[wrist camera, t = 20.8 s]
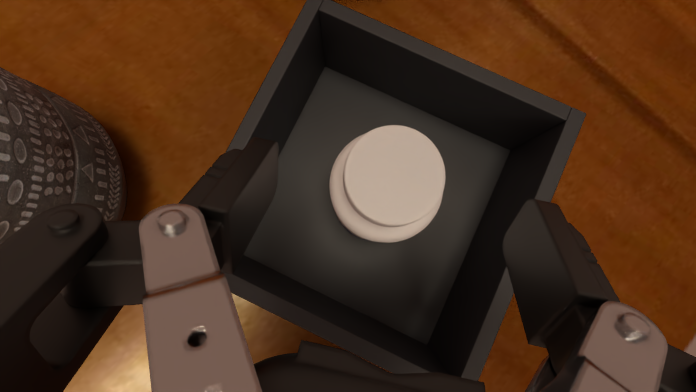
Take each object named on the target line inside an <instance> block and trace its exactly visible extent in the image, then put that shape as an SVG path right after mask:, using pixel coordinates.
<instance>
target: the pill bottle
mask: <svg viewBox="0 0 696 392" xmlns="http://www.w3.org/2000/svg"><path fill="white" fill-rule="evenodd" d="M444 186H445V166H444V163H443V159H442V157H441V155H440V153H439V151H438V149H437V148H436V146H435V145H434V144H433V143H432V141H431V140H430V139H429V138H427V137H426V136H425V135H423V134H422V133H420V132H419V131H417V130H415V129H412V128H410V127H406V126H400V125H388V126H382V127H378V128H376V129H373V130H371V131H369V132H367V133H365V134H363V135H361V136H359V137H357V138H355V139H354V140H352V141H351V142H350V143H349V144H347V145H346V146H345V147H344V149H343V150H342V151H341V152H340V154H339V155H338V157H337V158H336V160H335V162H334V165H333V167H332V170H331V175H330V181H329V189H330V197H331V202H332V205H333V208H334V210H335V213H336V216H337V218H338V220H339V221H340V223H341V224H342V226H343V227H344V228H345V229H346V230H347V231H348V232H350V233H351V234H352V235H354V236H356V237H358V238H360V239H363V240H367V241H372V242H379V243H391V242H398V241H402V240H406V239H408V238H411V237H413V236H415V235H416V234H418V233H419V232H421V231H422V230H423V229H424V228H425V227H427V226H428V224H429V223H430V222H431V221H432V220H433V218H434V216H435V215H436V213H437V211H438V209H439V207H440V204H441V201H442V196H443V190H444Z"/></svg>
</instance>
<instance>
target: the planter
mask: <svg viewBox="0 0 696 392" xmlns="http://www.w3.org/2000/svg"><path fill="white" fill-rule="evenodd" d="M126 202H127V185H126V178H125V173H124V169H123V165H122V162H121V159H120V157H119V154H118V152H117V150H116V148H115V146H114V144H113V142H112V140H111V138H110V136H109V135H108V133H107V132H106V131H105V129H104V128H103V127H102V125H101V124H100V123H99V122H98V121H97V120H96V119H95V118H94V117H93V116H92V115H90V114H89V113H88V112H86V111H85V110H84V109H82V108H81V107H79V106H77V105H75V104H74V103H72V102H70V101H68V100H66V99H64V98H63V97H61V96H59V95H57V94H55V93H53V92H51V91H49V90H46V89H44V88H42V87H40V86H38V85H36V84H34V83H31V82H29V81H27V80H25V79H22V78H20V77H18V76H16V75H14V74H12V73H10V72H8V71H7V70H5V69H3V68H1V67H0V244H2V243H3V242H4V241H5V240H7V239H8V238H9V237H10V236H12V235H13V234H14V233H15V232H17V231H18V230H19V229H20V228H21V227H23V226H24V225H25V224H26V223H28V222H29V221H30V220H31V219H33V218H34V217H35V216H37V215H38V214H40V213H42V212H43V211H46V210H48V209H50V208H53V207H56V206H60V205H64V204H72V203H83V204H89V205H92V206H94V207H96V208H98V209H99V210H100V212H101V214H102V216H103V219H104V221H121V220H122V217H123V215H124V211H125V208H126Z"/></svg>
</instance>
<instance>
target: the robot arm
mask: <svg viewBox="0 0 696 392" xmlns="http://www.w3.org/2000/svg"><path fill="white" fill-rule="evenodd" d="M278 154H279V146H278V142H276V141H271V140H267V139H262V138H258V137H253V138H252V139H251V140H250V141H249V143H248V144H247V145H246V146H245V148H244V149H243V150H240V149H235V148H234V149H232V150H230V151H228V152H226V153H224V154H222V155H221V156H220V157H219V158H218V159H217V160H216V161H215V163H214V164H213V165H212V167H210V168H209V169H208V170H207V172H206V173H205V175H203V176H202V177H201V178H200V180H199V181H198V182H197V183H196V184H195V185H194V186H193V187H192V189H191V190H190V191H189V192H188V193H187V194H186V195H185V197H184V198H183V199H182V200H181V201H180V202H179V203H178V204H169V205H164V206H161V207H158V208H156V209H154V210H152V211H151V212H149V213H148V214H146V215H145V216H144V218H143V219H142V220H136V221H104V219H103V216H102V214H101V212H100V210H99V209H98V208H96V207H94V206H92V205H89V204H83V203H72V204H64V205H60V206H56V207H53V208H50V209H48V210H46V211H43V212H42V213H40V214H38V215H37V216H35V217H34V218H33V219H31V220H30V221H29V222H28V223H26V224H25V225H24V226H23V227H21V228H20V229H19V230H18V231H17V232H15V233H14V234H13V235H12V236H10V237H9V238H8V239H7V240H5V241H4V242H3V243H2V244H0V392H63V391H64V389H65V388H66V386H67V385H68V384H69V382H70V381H71V379H72V378H73V376H74V375H75V374H76V372H77V371H78V369H79V368H80V367H81V365H82V364H83V362H84V361H85V360H86V358H87V357H88V355H89V354H90V352H91V351H92V350H93V348H94V347H95V345H96V344H97V343H98V341H99V340H100V338H101V337H102V335H103V334H104V333H105V331H106V330H107V328H108V327H109V326H110V324H111V323H112V321H113V320H114V318H115V317H116V316H117V314H118V313H119V311H120V310H121V309H122V307H123V306H124V305H136V304H143V312H144V321H145V331H146V341H147V350H148V360H149V369H150V379H151V389H152V392H485V386H484V383H483V382H479V381H475V380H470V379H466V378H462V377H457V376H453V375H449V374H445V373H440V372H429V373H404V374H393V373H389V372H387V371H385V370H383V369H381V368H379V367H377V366H375V365H373V364H371V363H369V362H367V361H365V360H363V359H361V358H360V357H358V356H356V355H354V354H352V353H350V352H348V351H346V350H342V349H338V348H334V347H329V346H325V345H321V344H317V343H312V342H308V341H304V340H301V343H300V346H299V350H298V353H290V354H283V355H277V356H274V357H270V358H267V359H264V360H262V361H260V362H257V363H255V364H253V361H252V358H251V355H250V352H249V348H248V345H247V342H246V339H245V336H244V333H243V329H242V326H241V323H240V320H239V317H238V314H237V310H236V307H235V304H234V301H233V298H232V295H231V291H230V288H229V285H228V282H227V279H226V276H225V274H224V273H228V274H233V273H234V271H235V269H236V267H237V265H238V263H239V262H240V260H241V258H242V256H243V254H244V252H245V250H246V249H247V247H248V245H249V243H250V241H251V239H252V237H253V236H254V234H255V232H256V230H257V228H258V226H259V224H260V223H261V221H262V219H263V217H264V215H265V213H266V211H267V209H268V208H269V206H270V204H271V202H272V200H273V198H274V195H275V192H276V188H277V181H278ZM502 249H503V254H504V258H505V261H506V265H507V269H508V272H509V276H510V279H511V283H512V286H513V290H514V294H515V297H516V301H517V304H518V308H519V312H520V315H521V319H522V322H523V326H524V330H525V333H526V337H527V340H528V344H531V345H535V346H540V347H544V348H547V350H548V353H549V355H548V356H547V357H546V358H545V359H544V360H543V361H542V362H541V364H540V366H539V368H538V369H537V371H536V373H535V375H534V376H533V378H532V380H531V382H530V383H529V385H528V387H527V389H526V390H525V392H696V357H694V356H692V355H690V354H688V353H686V352H684V351H681V350H679V349H677V348H675V347H673V346H671V345H669V344H667V342H666V339H665V337H664V335H663V334H662V332H661V331H660V330H659V328H658V327H657V326H656V325H655V324H654V323H653V322H652V321H651V320H650V319H649V318H648V317H646V316H645V315H644V314H642V313H641V312H639V311H638V310H636V309H634V308H633V307H631V306H629V305H626V304H623V303H620V301H619V299H618V297H617V295H616V294H615V292H614V290H613V288H612V287H611V285H610V283H609V281H608V279H607V278H606V276H605V274H604V272H603V270H602V269H601V267H600V265H599V264H597V260H596V258H595V256H594V254H593V253H591V249H590V247H589V245H588V244H587V242H586V240H585V238H584V237H583V236H582V235H581V234H580V233H579V232H578V231H577V230H576V229H575V228H574V227H573V226H572V225H571V224H570V223H568V222H567V220H566V219H565V217H564V215H563V213H562V211H561V209H560V207H559V206H558V205H557V204H555V203H550V202H546V201H541V200H537V199H528V200H527V201H526V202H525V203H524V205H523V206H522V208H521V210H520V211H519V213H518V214H517V216H516V218H515V219H514V221H513V222H512V224H511V226H510V227H509V229H508V230H507V232H506V234H505V236H504V239H503V246H502ZM221 272H222V273H221ZM223 272H224V273H223Z"/></svg>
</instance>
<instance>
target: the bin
mask: <svg viewBox="0 0 696 392" xmlns="http://www.w3.org/2000/svg"><path fill="white" fill-rule="evenodd" d="M585 116H586V113H584V112H582V111H579V110H577V109H575V108H571V107H570V106H568V105H566V104H563V103H561V102H559V101H557V100H554V99H552V98H550V97H548V96H545V95H543V94H541V93H539V92H536V91H534V90H532V89H530V88H527V87H525V86H523V85H521V84H518V83H516V82H514V81H512V80H509V79H507V78H505V77H503V76H500V75H498V74H496V73H494V72H491V71H489V70H487V69H485V68H482V67H480V66H478V65H476V64H473V63H471V62H469V61H467V60H464V59H462V58H460V57H458V56H455V55H453V54H451V53H449V52H446V51H444V50H442V49H440V48H437V47H435V46H433V45H431V44H428V43H426V42H424V41H422V40H419V39H417V38H415V37H413V36H410V35H408V34H406V33H404V32H401V31H399V30H397V29H395V28H392V27H390V26H388V25H386V24H383V23H381V22H379V21H377V20H374V19H372V18H370V17H368V16H365V15H363V14H361V13H359V12H356V11H354V10H352V9H350V8H347V7H345V6H343V5H341V4H338V3H336V2H334V1H332V0H307V1H306V3H305V5H304V7H303V9H302V10H301V12H300V14H299V16H298V18H297V20H296V22H295V23H294V25H293V27H292V29H291V31H290V33H289V35H288V37H287V38H286V40H285V42H284V44H283V46H282V48H281V50H280V52H279V53H278V55H277V57H276V59H275V61H274V63H273V65H272V67H271V68H270V70H269V72H268V74H267V76H266V78H265V80H264V82H263V83H262V85H261V87H260V89H259V91H258V93H257V95H256V97H255V98H254V100H253V102H252V104H251V106H250V108H249V110H248V111H247V113H246V115H245V117H244V119H243V121H242V123H241V125H240V126H239V128H238V130H237V132H236V134H235V136H234V138H233V140H232V141H231V143H230V145H229V147H228V149H227V151H226V152H228V151H230V150H232V149H234V148H235V149H240V150H243V149H244V148H245V146H246V145H247V144H248V143H249V141H250V140H251V139H252V138H253V137H258V138H262V139H267V140H271V141H276V142H278V146H279V154H278V181H277V188H276V192H275V195H274V198H273V200H272V202H271V204H270V206H269V208H268V209H267V211H266V213H265V215H264V217H263V219H262V221H261V223H260V224H259V226H258V228H257V230H256V232H255V234H254V236H253V237H252V239H251V241H250V243H249V245H248V247H247V249H246V250H245V252H244V254H243V256H242V258H241V260H240V262H239V263H238V265H237V267H236V269H235V271H234V273H233V274H228V273H224V272H223V273H224V274H225V276H226V279H227V282H228V285H229V288H230V291H231V293H233V294H235V295H237V296H239V297H241V298H243V299H245V300H247V301H249V302H251V303H253V304H255V305H257V306H259V307H261V308H263V309H265V310H267V311H269V312H271V313H273V314H275V315H277V316H279V317H281V318H284V319H286V320H288V321H290V322H292V323H294V324H296V325H298V326H300V327H302V328H304V329H306V330H308V331H310V332H312V333H314V334H316V335H318V336H320V337H322V338H324V339H326V340H328V341H330V342H332V343H334V344H336V345H338V346H340V347H342V348H344V349H346V350H348V351H350V352H352V353H354V354H356V355H358V356H360V357H362V358H364V359H366V360H368V361H370V362H372V363H374V364H376V365H378V366H380V367H382V368H384V369H386V370H388V371H390V372H392V373H394V374H404V373H429V372H440V373H445V374H449V375H453V376H457V377H462V378H466V379H470V380H475V381H478V379H479V377H480V374H481V372H482V370H483V367H484V365H485V362H486V360H487V357H488V355H489V352H490V350H491V347H492V345H493V342H494V340H495V338H496V335H497V333H498V330H499V328H500V325H501V323H502V320H503V318H504V315H505V313H506V310H507V308H508V306H509V303H510V301H511V298H512V296H513V293H514V290H513V286H512V283H511V279H510V276H509V272H508V269H507V265H506V261H505V258H504V254H503V249H502V246H503V239H504V236H505V234H506V232H507V230H508V229H509V227H510V226H511V224H512V222H513V221H514V219H515V218H516V216H517V214H518V213H519V211H520V210H521V208H522V206H523V205H524V203H525V202H526V201H527V200H528V199H537V200H541V201H546V202H551V200H552V197H553V195H554V192H555V190H556V187H557V185H558V182H559V180H560V178H561V175H562V173H563V170H564V168H565V165H566V163H567V160H568V158H569V155H570V153H571V150H572V148H573V146H574V143H575V141H576V138H577V136H578V133H579V131H580V128H581V126H582V123H583V121H584V118H585ZM388 125H400V126H406V127H410V128H412V129H415V130H417V131H419V132H420V133H422V134H423V135H425V136H426V137H427V138H429V139H430V140H431V141H432V143H433V144H434V145H435V146H436V148H437V149H438V151H439V153H440V155H441V157H442V159H443V163H444V166H445V186H444V190H443V196H442V201H441V204H440V207H439V209H438V211H437V213H436V215H435V216H434V218H433V220H432V221H431V222H430V223H429V224H428V226H427V227H425V228H424V229H423V230H422V231H421V232H419V233H418V234H416V235H415V236H413V237H411V238H408V239H406V240H402V241H398V242H391V243H379V242H372V241H367V240H363V239H360V238H358V237H356V236H354V235H352V234H351V233H350V232H348V231H347V230H346V229H345V228H344V227H343V226H342V224H341V223H340V221H339V220H338V218H337V216H336V213H335V210H334V208H333V205H332V202H331V197H330V189H329V181H330V175H331V170H332V167H333V165H334V162H335V160H336V158H337V157H338V155H339V154H340V152H341V151H342V150H343V149H344V147H345V146H346V145H347V144H349V143H350V142H351V141H352V140H354V139H355V138H357V137H359V136H361V135H363V134H365V133H367V132H369V131H371V130H373V129H376V128H378V127H382V126H388ZM221 273H222V272H221Z"/></svg>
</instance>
